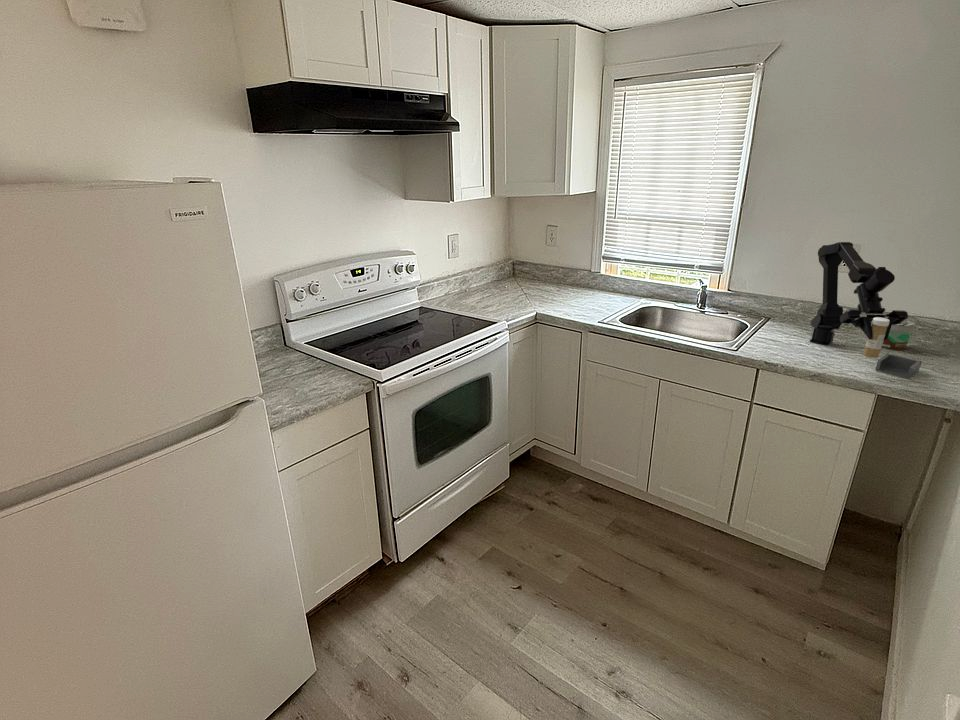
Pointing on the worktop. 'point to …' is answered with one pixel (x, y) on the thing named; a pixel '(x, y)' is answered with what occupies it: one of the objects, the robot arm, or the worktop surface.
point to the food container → (899, 336)
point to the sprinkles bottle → (876, 337)
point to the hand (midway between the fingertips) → (878, 339)
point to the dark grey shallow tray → (898, 366)
